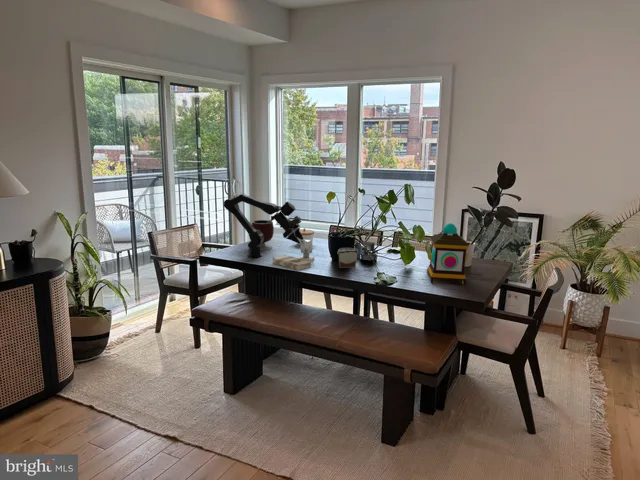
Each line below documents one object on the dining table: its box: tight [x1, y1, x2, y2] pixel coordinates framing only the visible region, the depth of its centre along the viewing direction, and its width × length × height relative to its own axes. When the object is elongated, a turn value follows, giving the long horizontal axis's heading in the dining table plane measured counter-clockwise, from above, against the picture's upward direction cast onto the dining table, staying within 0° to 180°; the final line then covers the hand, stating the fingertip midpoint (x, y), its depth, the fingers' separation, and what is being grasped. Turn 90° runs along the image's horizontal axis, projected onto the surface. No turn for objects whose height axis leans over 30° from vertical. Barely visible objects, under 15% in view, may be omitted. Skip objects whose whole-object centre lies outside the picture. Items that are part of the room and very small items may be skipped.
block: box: [298, 254, 315, 264], centre depth 278 cm, size 8×8×2 cm
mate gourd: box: [251, 219, 274, 251], centre depth 303 cm, size 16×14×20 cm
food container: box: [336, 247, 359, 269], centre depth 268 cm, size 12×6×10 cm, turn 108°
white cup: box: [300, 239, 313, 258], centre depth 277 cm, size 7×7×10 cm
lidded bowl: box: [297, 228, 315, 247], centre depth 317 cm, size 13×13×11 cm
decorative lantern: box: [426, 222, 469, 286], centre depth 246 cm, size 20×20×30 cm
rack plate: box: [272, 254, 312, 271], centre depth 268 cm, size 20×10×3 cm, turn 49°
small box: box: [354, 240, 376, 261], centre depth 284 cm, size 11×6×10 cm, turn 62°
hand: (301, 241), depth 276 cm, fingers open, 9 cm apart
